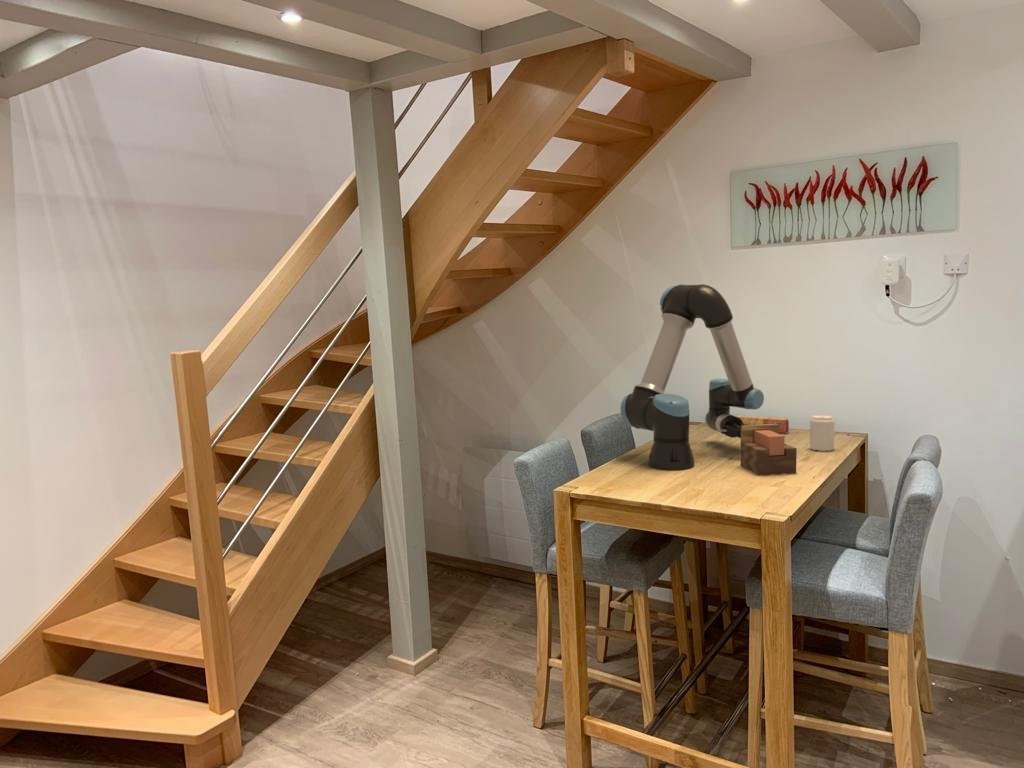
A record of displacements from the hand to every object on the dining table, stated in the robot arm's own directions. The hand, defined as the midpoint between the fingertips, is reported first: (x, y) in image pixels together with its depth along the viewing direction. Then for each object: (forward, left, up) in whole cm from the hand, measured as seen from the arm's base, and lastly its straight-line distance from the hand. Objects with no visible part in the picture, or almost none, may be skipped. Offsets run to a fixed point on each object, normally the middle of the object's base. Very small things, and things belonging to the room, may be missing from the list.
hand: (759, 437), depth 268 cm
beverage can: (+5, +34, -9) cm, 35 cm away
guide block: (+6, -5, -9) cm, 12 cm away
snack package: (-29, +51, -9) cm, 59 cm away
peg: (+6, -5, -3) cm, 8 cm away
